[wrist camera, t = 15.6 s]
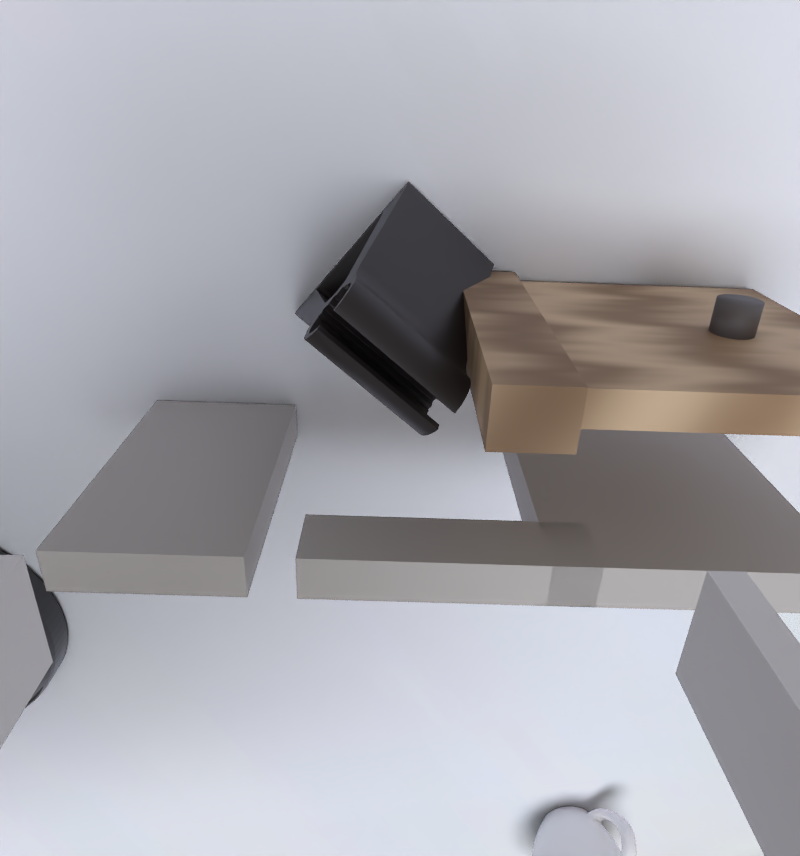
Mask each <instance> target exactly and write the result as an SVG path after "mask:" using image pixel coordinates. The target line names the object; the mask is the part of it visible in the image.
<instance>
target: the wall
mask: <svg viewBox="0 0 800 856" xmlns="http://www.w3.org/2000/svg"><path fill="white" fill-rule="evenodd" d="M296 438H297V414H296V405H284V404H253V403H222V402H192V401H161V400H157V401H156V402H155V403H154V405H153V406H152V407H151V408H150V410H149V411H148V412H147V413H146V415H145V416H144V417H143V418H142V420H141V421H140V422H139V423H138V425H137V426H136V427H135V428H134V429H133V431H132V432H131V433H130V434H129V436H128V437H127V438H126V439H125V441H124V442H123V443H122V444H121V446H120V447H119V448H118V449H117V451H116V452H115V453H114V454H113V456H112V457H111V458H110V459H109V460H108V462H107V463H106V464H105V465H104V467H103V468H102V469H101V470H100V472H99V473H98V474H97V475H96V477H95V478H94V479H93V480H92V482H91V483H90V484H89V485H88V486H87V488H86V489H85V490H84V491H83V493H82V494H81V495H80V496H79V498H78V499H77V500H76V501H75V503H74V504H73V505H72V506H71V508H70V509H69V510H68V511H67V513H66V514H65V515H64V516H63V517H62V519H61V520H60V521H59V522H58V524H57V525H56V526H55V527H54V529H53V530H52V531H51V532H50V534H49V535H48V536H47V537H46V539H45V540H44V541H43V542H42V544H41V545H40V546H39V547H38V548H37V550H36V554H37V558H38V562H39V565H40V569H41V573H42V577H43V580H44V584H45V588H46V591H53V592H88V593H122V594H156V595H191V596H225V597H248V593H249V590H250V587H251V584H252V581H253V577H254V574H255V571H256V568H257V564H258V561H259V558H260V555H261V551H262V548H263V545H264V542H265V539H266V535H267V532H268V529H269V526H270V522H271V519H272V516H273V513H274V509H275V506H276V503H277V500H278V497H279V493H280V490H281V487H282V484H283V480H284V477H285V474H286V471H287V468H288V464H289V461H290V458H291V455H292V451H293V448H294V445H295V442H296ZM503 455H504V459H505V462H506V466H507V469H508V473H509V476H510V480H511V483H512V487H513V491H514V494H515V498H516V501H517V505H518V508H519V512H520V515H521V519H522V521H502V520H469V519H437V518H404V517H371V516H339V515H305V520H304V524H303V528H302V533H301V537H300V541H299V546H298V550H297V554H296V580H297V599H329V600H363V601H397V602H432V603H466V604H501V605H535V606H569V607H604V608H638V609H673V610H695V609H696V605H697V602H698V599H699V596H700V592H701V589H702V586H703V583H704V579H705V576H706V573H707V571H739V572H747V574H748V575H749V576H750V578H751V579H752V580H753V582H754V583H755V584H756V586H757V587H758V588H759V590H760V591H761V592H762V594H763V595H764V596H765V598H766V599H767V600H768V602H769V603H770V605H771V606H772V607H773V609H774V610H775V611H776V613H800V513H799V512H798V511H797V510H796V509H795V508H794V507H793V506H792V505H791V504H790V503H789V502H788V501H787V500H786V499H785V498H784V497H783V496H782V495H781V493H780V492H779V491H778V490H777V489H776V488H775V487H774V486H773V485H772V484H771V483H770V482H769V481H768V480H767V479H766V478H765V477H764V476H763V475H762V473H761V472H760V471H759V470H758V469H757V468H756V467H755V466H754V465H753V464H752V463H751V462H750V461H749V460H748V459H747V458H746V457H745V456H744V455H743V454H742V452H741V451H740V450H739V449H738V448H737V447H736V446H735V445H734V444H733V443H732V442H731V441H730V440H729V439H728V438H727V437H726V436H725V435H724V434H720V433H689V432H658V431H627V430H596V429H581V431H580V437H579V442H578V448H577V453H576V455H571V454H540V453H509V452H503Z"/></svg>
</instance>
